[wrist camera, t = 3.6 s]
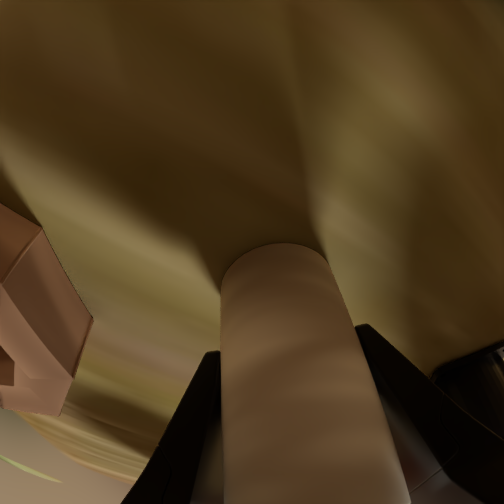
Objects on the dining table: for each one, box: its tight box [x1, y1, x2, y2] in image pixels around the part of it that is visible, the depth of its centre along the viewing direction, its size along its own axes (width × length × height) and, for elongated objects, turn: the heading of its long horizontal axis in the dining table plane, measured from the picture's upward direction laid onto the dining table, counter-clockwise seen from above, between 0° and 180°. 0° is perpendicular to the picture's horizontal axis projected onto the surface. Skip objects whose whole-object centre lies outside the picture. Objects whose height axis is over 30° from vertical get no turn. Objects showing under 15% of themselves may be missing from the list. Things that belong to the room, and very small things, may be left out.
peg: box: [221, 243, 411, 504], centre depth 8 cm, size 4×4×8 cm
